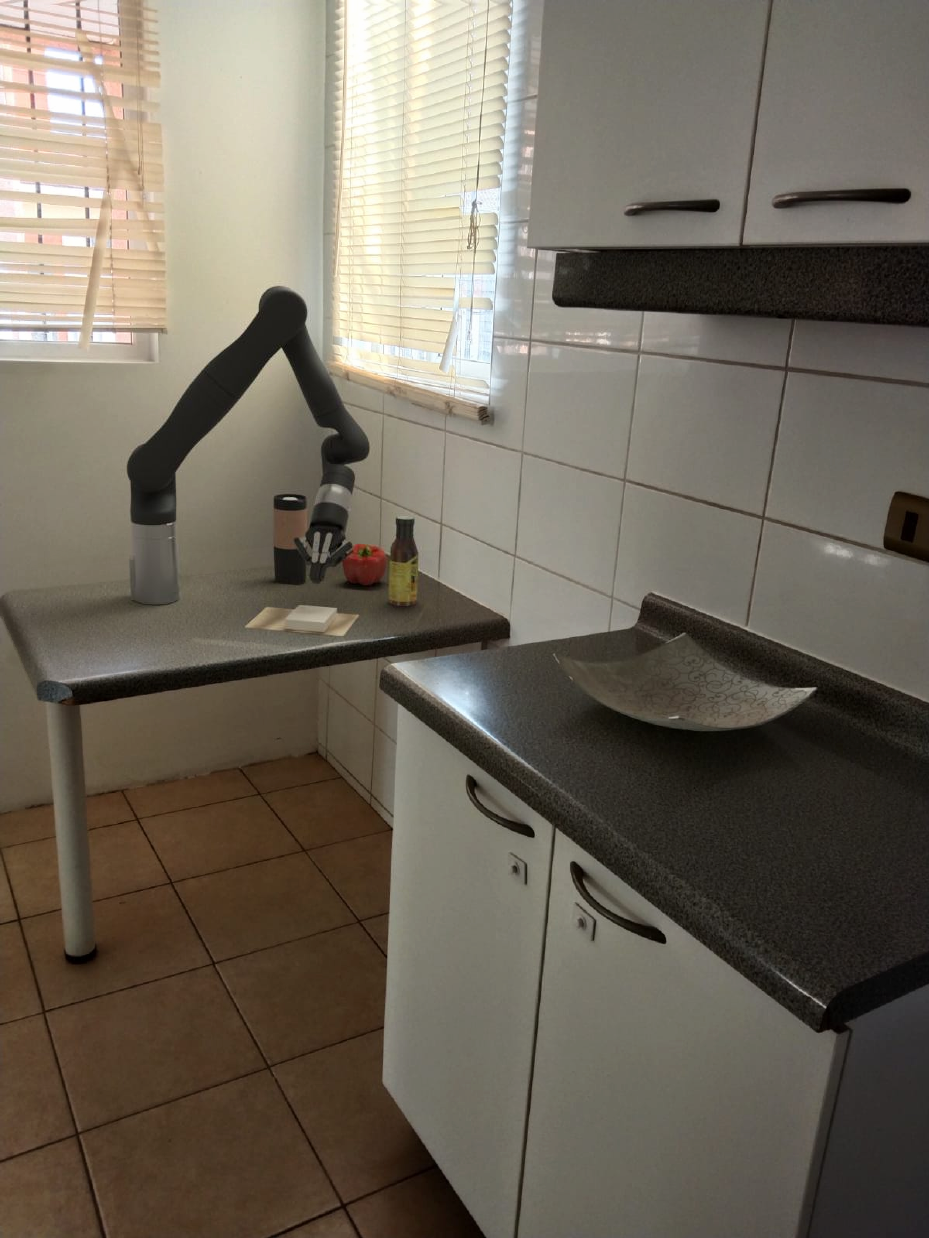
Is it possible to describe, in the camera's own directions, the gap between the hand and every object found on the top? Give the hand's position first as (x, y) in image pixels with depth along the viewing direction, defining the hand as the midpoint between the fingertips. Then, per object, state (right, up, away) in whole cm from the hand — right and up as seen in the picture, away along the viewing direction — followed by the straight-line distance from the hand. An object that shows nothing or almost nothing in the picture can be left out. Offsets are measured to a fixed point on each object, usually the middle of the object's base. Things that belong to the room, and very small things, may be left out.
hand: (315, 581), depth 203 cm
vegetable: (+7, +1, +33) cm, 33 cm away
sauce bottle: (+17, -5, +17) cm, 24 cm away
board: (-3, -9, +1) cm, 9 cm away
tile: (0, -6, +4) cm, 7 cm away
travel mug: (-11, +1, +32) cm, 34 cm away
